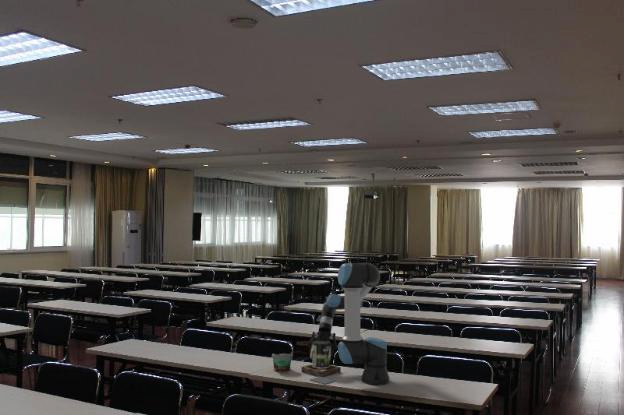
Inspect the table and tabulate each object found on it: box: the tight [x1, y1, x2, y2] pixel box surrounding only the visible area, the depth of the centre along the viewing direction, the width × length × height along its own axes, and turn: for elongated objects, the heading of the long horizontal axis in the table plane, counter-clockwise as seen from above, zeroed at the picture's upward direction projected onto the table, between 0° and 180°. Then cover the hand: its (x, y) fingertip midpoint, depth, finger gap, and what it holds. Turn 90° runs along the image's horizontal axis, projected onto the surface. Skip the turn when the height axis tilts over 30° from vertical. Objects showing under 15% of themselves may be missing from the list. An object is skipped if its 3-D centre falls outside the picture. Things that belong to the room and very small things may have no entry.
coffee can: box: [311, 340, 331, 370], centre depth 341 cm, size 10×10×14 cm
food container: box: [271, 352, 293, 373], centre depth 342 cm, size 12×6×10 cm, turn 105°
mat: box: [309, 376, 336, 386], centre depth 322 cm, size 11×9×1 cm
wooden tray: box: [301, 364, 342, 378], centre depth 340 cm, size 16×16×3 cm
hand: (320, 358), depth 338 cm, fingers closed on coffee can, 10 cm apart
